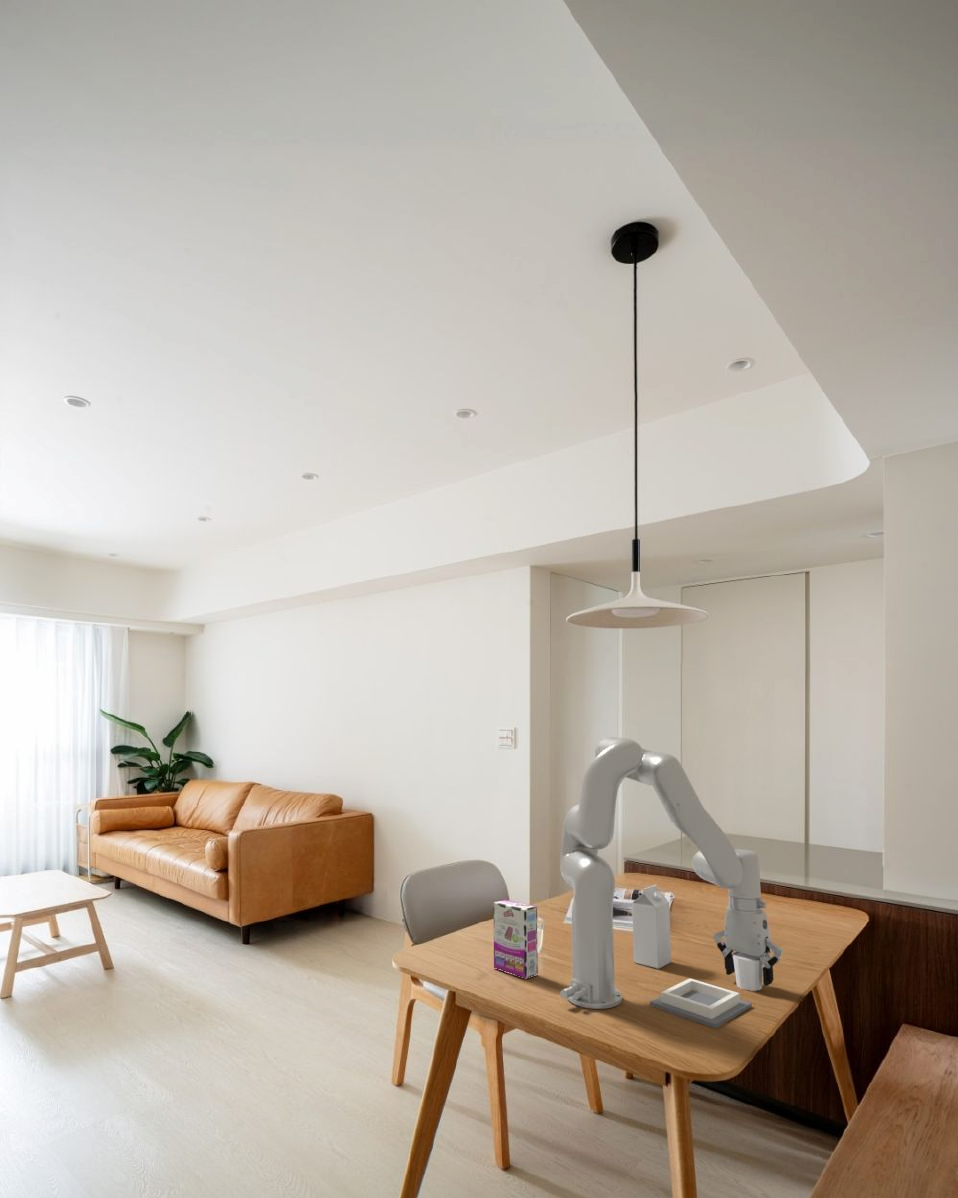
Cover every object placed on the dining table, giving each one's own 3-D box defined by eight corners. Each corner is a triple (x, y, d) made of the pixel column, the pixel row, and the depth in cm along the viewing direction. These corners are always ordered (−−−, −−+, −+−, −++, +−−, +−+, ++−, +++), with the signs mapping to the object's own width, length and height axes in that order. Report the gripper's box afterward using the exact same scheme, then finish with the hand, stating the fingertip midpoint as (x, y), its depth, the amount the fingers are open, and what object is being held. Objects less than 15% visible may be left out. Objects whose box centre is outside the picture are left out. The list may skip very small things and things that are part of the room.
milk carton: (633, 963, 187) (631, 887, 190) (647, 956, 193) (645, 882, 195) (658, 969, 183) (655, 891, 186) (671, 962, 188) (668, 886, 191)
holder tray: (715, 1028, 149) (715, 1014, 149) (649, 1005, 161) (649, 992, 161) (751, 1006, 160) (751, 993, 160) (687, 986, 171) (687, 974, 172)
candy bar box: (539, 975, 179) (538, 906, 181) (526, 980, 175) (525, 910, 178) (505, 964, 187) (505, 898, 189) (492, 969, 183) (492, 901, 186)
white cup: (740, 979, 176) (738, 948, 178) (768, 985, 172) (766, 954, 173) (729, 987, 171) (728, 956, 172) (759, 994, 167) (757, 962, 168)
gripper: (787, 907, 171) (791, 984, 168) (719, 894, 183) (723, 965, 181) (772, 913, 166) (777, 993, 163) (704, 899, 178) (707, 973, 176)
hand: (748, 978), depth 172 cm, fingers open, 9 cm apart
